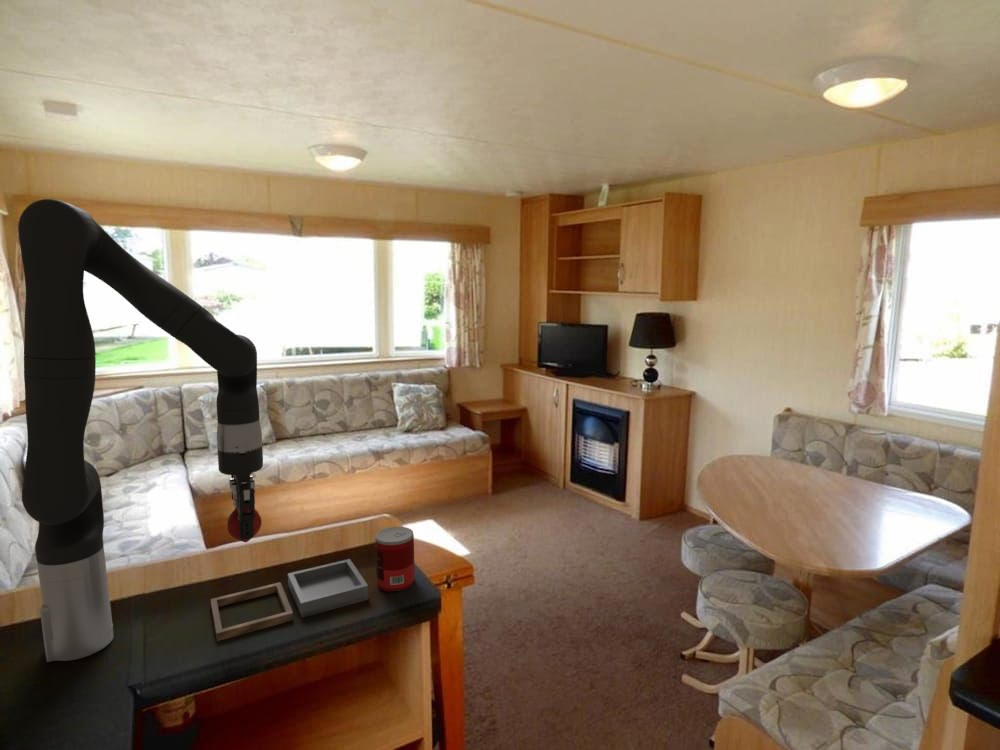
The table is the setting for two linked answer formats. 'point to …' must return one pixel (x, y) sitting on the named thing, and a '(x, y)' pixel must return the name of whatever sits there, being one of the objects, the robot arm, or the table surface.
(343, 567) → the bin
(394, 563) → the canned food
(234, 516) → the onion
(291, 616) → the square frame
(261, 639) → the table surface
